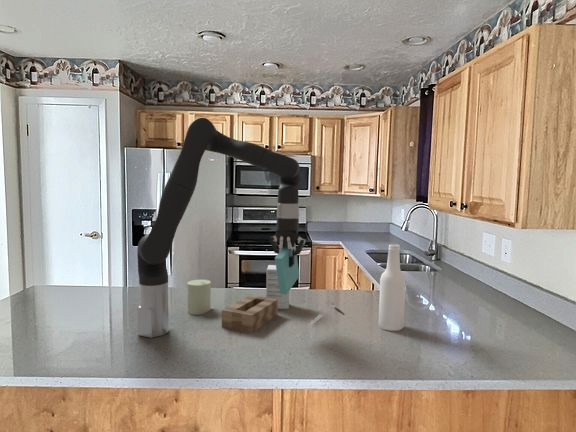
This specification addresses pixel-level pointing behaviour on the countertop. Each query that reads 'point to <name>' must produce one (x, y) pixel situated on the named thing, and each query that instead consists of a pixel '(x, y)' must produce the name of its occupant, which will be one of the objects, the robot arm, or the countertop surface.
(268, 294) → the supplement box
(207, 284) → the can
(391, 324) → the alcohol
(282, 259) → the cover plate
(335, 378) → the countertop surface
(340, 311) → the fork
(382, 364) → the countertop surface
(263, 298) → the slot box
